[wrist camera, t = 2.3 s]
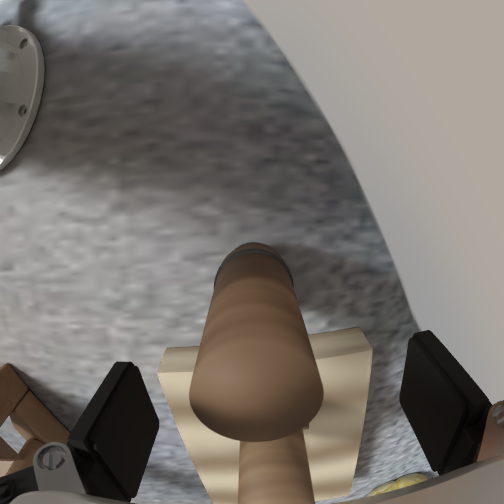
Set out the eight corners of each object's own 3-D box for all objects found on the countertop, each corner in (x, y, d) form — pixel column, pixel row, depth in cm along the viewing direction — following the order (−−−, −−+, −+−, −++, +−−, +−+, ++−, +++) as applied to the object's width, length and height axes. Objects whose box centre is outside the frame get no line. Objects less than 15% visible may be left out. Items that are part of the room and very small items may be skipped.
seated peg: (236, 364, 22) (228, 508, 11) (293, 358, 22) (320, 500, 11) (244, 404, 24) (241, 535, 12) (296, 398, 23) (317, 528, 12)
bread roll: (422, 488, 30) (430, 507, 27) (364, 508, 31) (369, 529, 27) (430, 461, 28) (441, 483, 24) (365, 485, 29) (372, 509, 25)
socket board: (166, 348, 22) (156, 372, 19) (359, 326, 21) (372, 349, 19) (217, 487, 28) (215, 508, 25) (344, 474, 27) (349, 494, 24)
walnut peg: (215, 238, 20) (169, 350, 8) (283, 230, 19) (327, 335, 8) (225, 300, 21) (202, 446, 9) (289, 293, 21) (325, 435, 9)
